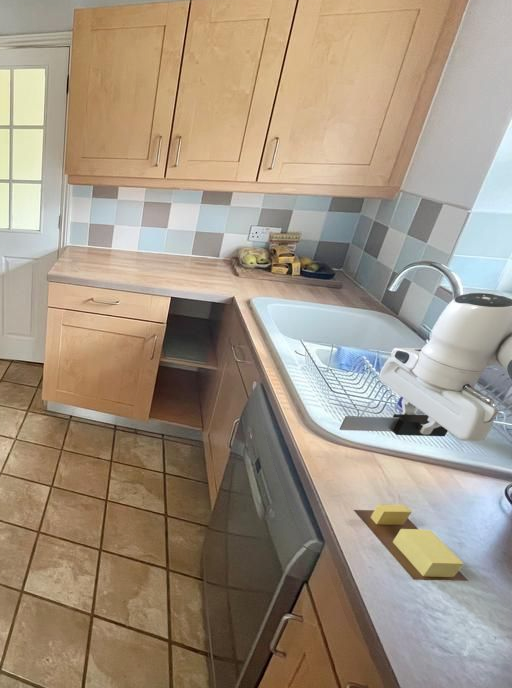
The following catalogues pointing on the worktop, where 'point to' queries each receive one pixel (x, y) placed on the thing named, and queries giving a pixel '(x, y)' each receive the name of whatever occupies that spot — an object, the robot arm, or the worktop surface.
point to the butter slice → (390, 514)
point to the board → (387, 537)
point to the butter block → (427, 553)
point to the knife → (391, 424)
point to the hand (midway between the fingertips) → (414, 425)
